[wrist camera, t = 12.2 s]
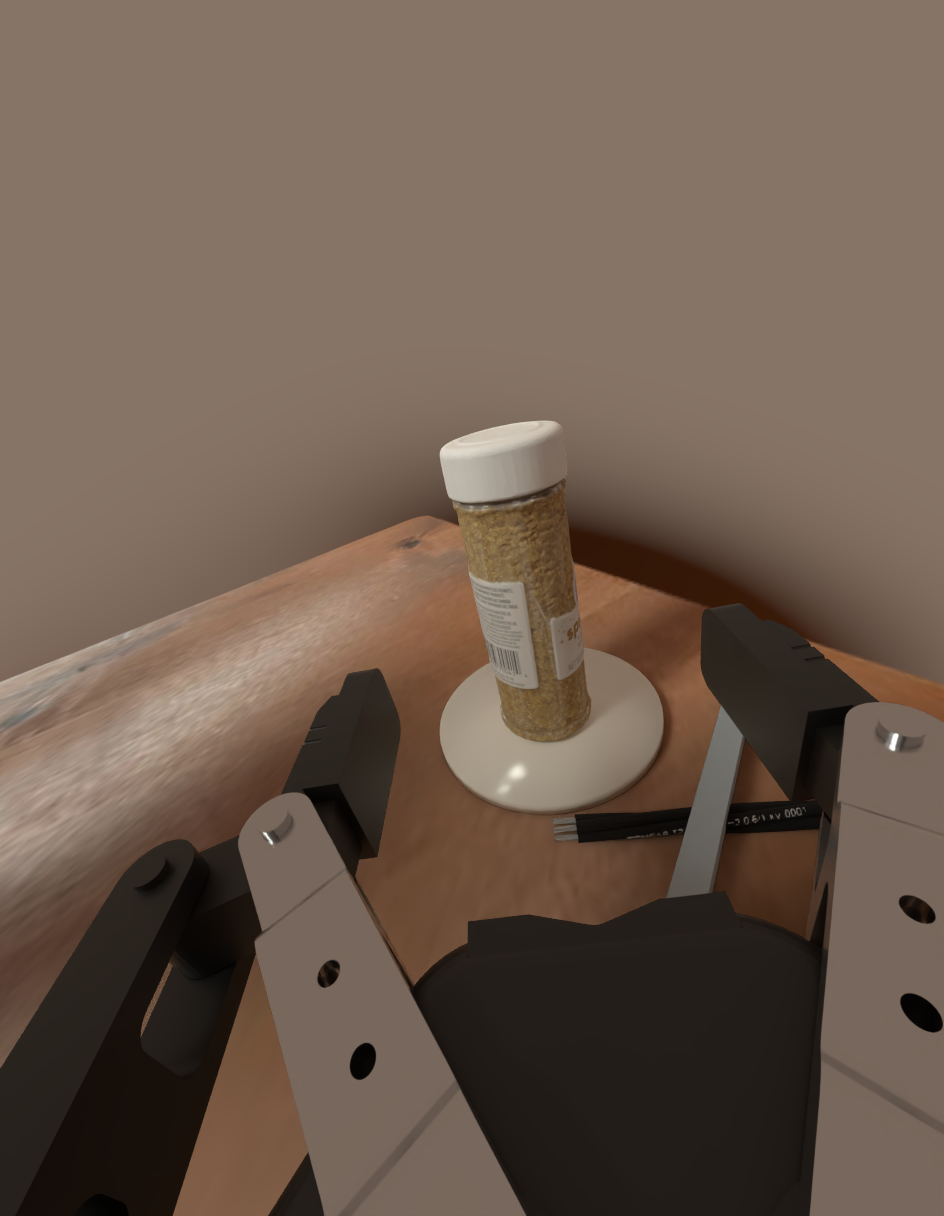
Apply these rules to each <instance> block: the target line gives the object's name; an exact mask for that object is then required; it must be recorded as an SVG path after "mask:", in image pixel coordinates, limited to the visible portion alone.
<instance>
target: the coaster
mask: <svg viewBox="0 0 944 1216" xmlns="http://www.w3.org/2000/svg"><path fill="white" fill-rule="evenodd" d="M583 659H584V667H585V675H586V684H587V691H588V693H589V696H590V698H591V711H590V715H589V718H588V720H587V721H586V722H585V723H584V725H583V726H582V727H581V728H579V729H578V730H577V731H576V732H575V733H573V734H572V735H570V736H568V737H565V738H562V739H560V740H556V741H532V740H528V739H524V738H522V737H520V736H518V735H516V734H515V733H513V732H512V731H511V730H510V729H509V728H508V727H507V726H506V725H505V723H504V721H503V719H502V716H501V711H500V706H501V700H500V695H499V691H498V687H497V682H496V678H495V674H494V672H493V670H492V667H491V664H490V663H488V664H486V665H485V666H483V667H482V668H480V669H478V670H477V671H475V672H474V673H473V674H472V675H470V676H469V677H468V678H467V679H466V680H465V681H464V682H463V683H462V684H460V685H459V687H458V688H457V689H456V690H455V692H454V693H453V694H452V696H451V697H450V699H449V700H448V702H447V704H446V706H445V709H444V711H443V714H442V718H441V722H440V742H441V746H442V749H443V753H444V756H445V758H446V761H447V763H448V765H449V767H450V770H451V771H452V773H453V774H454V775H455V777H456V778H457V780H458V781H459V782H460V783H461V784H462V785H463V786H464V787H465V788H466V789H468V790H469V791H470V792H472V793H473V794H474V795H476V796H477V797H479V798H481V799H482V800H484V801H486V802H488V803H490V804H492V805H495V806H498V807H501V808H503V809H506V810H511V811H515V812H519V813H527V814H536V815H556V814H564V813H572V812H577V811H581V810H585V809H589V808H592V807H595V806H597V805H600V804H602V803H605V802H608V801H609V800H611V799H613V798H615V797H617V796H619V795H620V794H622V793H624V792H625V791H626V790H628V789H629V788H630V787H632V786H633V785H635V784H636V783H637V782H638V781H639V780H640V779H641V778H642V777H643V776H644V775H645V774H646V772H647V771H648V770H649V768H650V767H651V766H652V764H653V763H654V761H655V759H656V757H657V755H658V753H659V751H660V747H661V744H662V740H663V730H664V718H663V709H662V705H661V702H660V699H659V696H658V694H657V692H656V690H655V688H654V687H653V685H652V684H651V683H650V682H649V680H648V679H647V678H646V677H645V676H644V675H643V674H642V673H641V672H640V671H639V670H637V669H636V668H635V667H633V666H632V665H631V664H629V663H627V662H625V661H624V660H622V659H620V658H618V657H615V656H613V655H611V654H608V653H605V652H602V651H599V650H594V649H590V648H584V658H583Z"/></svg>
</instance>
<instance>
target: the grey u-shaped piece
mask: <svg viewBox="0 0 944 1216" xmlns="http://www.w3.org/2000/svg"><path fill="white" fill-rule="evenodd" d="M744 742H745V738H744V736H743V735H742V734H741V732H740V731H739V729H738V728H737V727H736V725H735V724H734V722H733V721H732V720H731V718H730V717H729V715H728V714H727V713H726V711H725V710H724V709H723V707H722V706H721V707H720V711H719V715H718V718H717V722H716V725H715V729H714V732H713V736H712V739H711V743H710V746H709V750H708V753H707V757H706V760H705V764H704V767H703V771H702V774H701V778H700V781H699V785H698V788H697V792H696V796H695V799H694V803H693V806H692V810H691V813H690V817H689V820H688V824H687V827H686V831H685V834H684V838H683V841H682V845H681V848H680V852H679V855H678V859H677V862H676V866H675V870H674V873H673V877H672V880H671V884H670V887H669V891H668V894H667V898H672V897H681V896H689V895H698V894H706V893H712V892H713V887H714V883H715V878H716V873H717V869H718V864H719V859H720V854H721V850H722V845H723V840H724V836H725V831H726V821H727V816H728V812H729V807H730V804H731V803H732V798H733V793H734V789H735V784H736V779H737V775H738V770H739V765H740V761H741V756H742V751H743V747H744Z"/></svg>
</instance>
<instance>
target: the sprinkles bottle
mask: <svg viewBox="0 0 944 1216" xmlns="http://www.w3.org/2000/svg"><path fill="white" fill-rule="evenodd" d="M440 460H441V465H442V470H443V475H444V480H445V484H446V488H447V492H448V496H449V497H450V498H451V499H453V507H454V509H455V510H456V512H457V514H458V520H459V525H460V528H461V533H462V536H463V541H464V544H465V550H466V555H467V560H468V563H469V575H470V579H471V584H472V588H473V592H474V596H475V601H476V605H477V609H478V613H479V618H480V622H481V626H482V630H483V634H484V639H485V643H486V647H487V651H488V655H489V659H490V664H491V667H492V670H493V672H494V674H495V678H496V682H497V687H498V691H499V695H500V700H501V706H500V711H501V716H502V719H503V721H504V723H505V725H506V726H507V727H508V728H509V729H510V730H511V731H512V732H513V733H515V734H516V735H518V736H520V737H522V738H524V739H528V740H532V741H556V740H560V739H562V738H565V737H568V736H570V735H572V734H573V733H575V732H576V731H577V730H578V729H579V728H581V727H582V726H583V725H584V723H585V722H586V721H587V720H588V718H589V715H590V711H591V698H590V696H589V693H588V691H587V684H586V675H585V667H584V659H583V658H584V647H583V639H582V631H581V623H580V616H579V607H578V598H577V589H576V580H575V570H574V564H573V559H572V556H571V550H570V540H569V528H568V520H567V514H566V502H565V499H564V495H565V494H564V488H565V485H566V484H565V482H566V480H565V479H564V477H565V476H566V474H567V472H568V468H567V458H566V449H565V441H564V435H563V429H562V427H561V426H560V425H559V424H558V423H556V422H554V421H531V422H523V423H515V424H508V425H503V426H498V427H494V428H490V429H486V430H482V431H479V432H476V433H472V434H470V435H466V436H463V437H460V438H458V439H456V440H453V441H451V442H449V443H447V444H446V445H445V446H444V447H443V448H442V449H441V451H440Z"/></svg>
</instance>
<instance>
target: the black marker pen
mask: <svg viewBox="0 0 944 1216" xmlns="http://www.w3.org/2000/svg"><path fill="white" fill-rule="evenodd" d="M691 810H692V807H688V808H679V809H670V810H661V811H652V812H643V813H600V814H575V817H568V818H553V825H554V824H574V823H576V825H566V826H561V827H555V826H554V828H553V830H554V833H559V832H567V831H575V830H577V834H569V835H555V840H560V841H564V840H578V841H579V843H582V842H594V841H606V840H617V839H632V838H641V837H649V836H650V837H652V836H661V835H669V834H679V833H685V831H686V827H687V824H688V820H689V817H690V813H691ZM822 813H823V809H822V808H821V806H820V805H819V804H818V803H817V801H816V800H808V801H798V802H791V801H774V802H754V803H737V804H730V807H729V812H728V816H727V821H726V831H725V833H758V832H778V831H794V830H806V829H818V828H820V822H821V817H822Z"/></svg>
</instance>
